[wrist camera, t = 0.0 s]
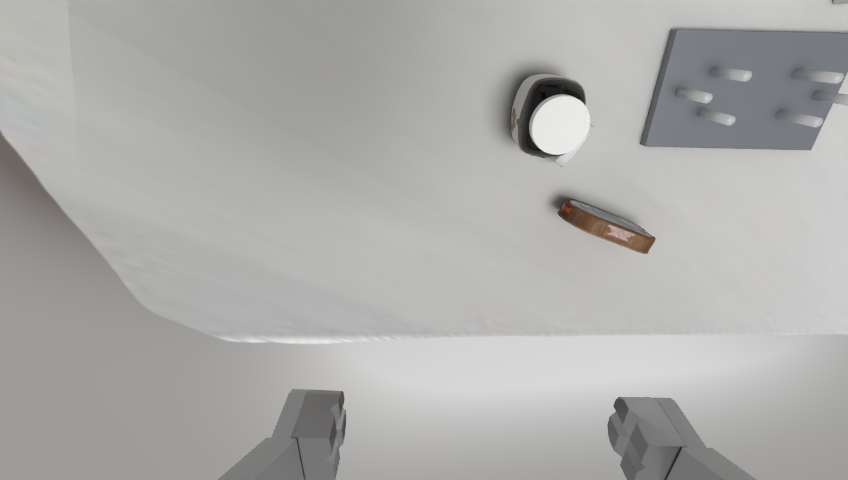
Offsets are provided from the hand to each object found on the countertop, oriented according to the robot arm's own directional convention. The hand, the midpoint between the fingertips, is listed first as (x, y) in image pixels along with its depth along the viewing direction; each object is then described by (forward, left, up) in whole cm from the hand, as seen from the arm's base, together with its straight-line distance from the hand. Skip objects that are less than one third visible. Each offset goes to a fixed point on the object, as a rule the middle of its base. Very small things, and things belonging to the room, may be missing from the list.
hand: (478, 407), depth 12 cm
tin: (+15, +26, -51) cm, 60 cm away
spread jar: (0, +16, -51) cm, 54 cm away
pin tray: (-4, +42, -51) cm, 66 cm away
